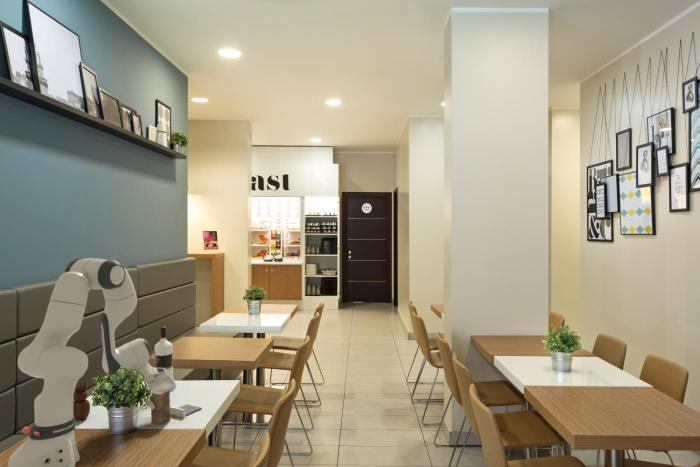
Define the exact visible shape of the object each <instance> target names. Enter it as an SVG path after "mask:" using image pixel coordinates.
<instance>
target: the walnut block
mask: <svg viewBox="0 0 700 467" xmlns="http://www.w3.org/2000/svg"><path fill="white" fill-rule="evenodd" d="M152 393H153V395H152V397H151V400H150V401H151V402H152V403H156V405H157V408H156V409H153V410H152V409H151V408H150V415H151V416H150V417H151V419H150V421H151V423H152V424H155V425H159V426H161V425H163V424H165V423H168V422H170V421H171V414H170V406H171V398H170V396H171V395H170V393H171V392H170V391H169V390H164V389H160V390H157V391H154V392H152Z"/></svg>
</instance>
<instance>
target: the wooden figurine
mask: <svg viewBox="0 0 700 467" xmlns="http://www.w3.org/2000/svg"><path fill="white" fill-rule="evenodd" d="M86 387H87V385H86V381H84V383H83V384H82V383H80V385H78V386H77V387H75V390H74V395H73V416H74V417H75V421H83V420H86V419H87V418H88V416H89V415H90V412H91V403H90V401H89V400H88V399H87V398H88V393H87V390H86V389H87V388H86Z"/></svg>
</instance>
